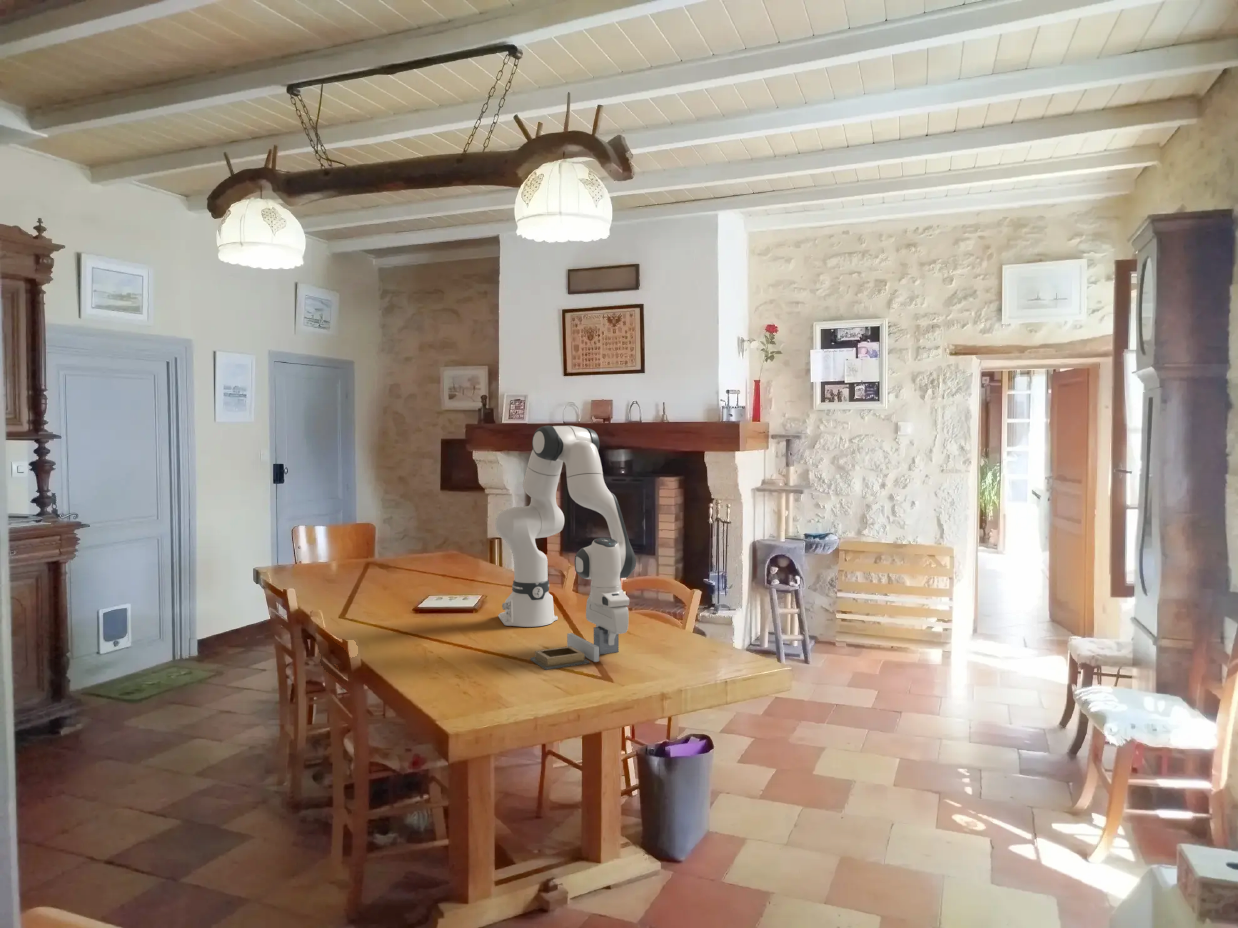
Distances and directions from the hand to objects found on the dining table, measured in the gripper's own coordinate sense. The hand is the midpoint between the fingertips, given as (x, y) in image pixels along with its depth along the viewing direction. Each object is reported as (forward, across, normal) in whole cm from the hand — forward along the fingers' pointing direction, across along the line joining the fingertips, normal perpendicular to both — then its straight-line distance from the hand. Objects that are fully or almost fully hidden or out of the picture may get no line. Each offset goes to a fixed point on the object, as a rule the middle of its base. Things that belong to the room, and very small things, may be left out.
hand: (606, 642), depth 241 cm
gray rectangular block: (+3, 0, 0) cm, 3 cm away
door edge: (+3, -1, -7) cm, 8 cm away
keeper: (+3, +3, -16) cm, 16 cm away
